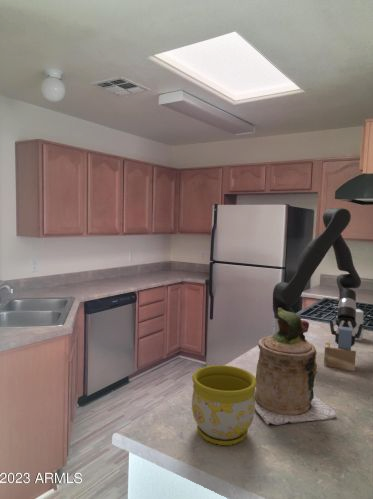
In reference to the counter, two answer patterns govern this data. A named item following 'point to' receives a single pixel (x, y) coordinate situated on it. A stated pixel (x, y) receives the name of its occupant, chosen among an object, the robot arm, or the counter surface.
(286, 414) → the cookie jar
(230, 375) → the flowerpot
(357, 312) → the skincare box
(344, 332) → the slate block
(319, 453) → the counter surface
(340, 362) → the oak corner bracket
